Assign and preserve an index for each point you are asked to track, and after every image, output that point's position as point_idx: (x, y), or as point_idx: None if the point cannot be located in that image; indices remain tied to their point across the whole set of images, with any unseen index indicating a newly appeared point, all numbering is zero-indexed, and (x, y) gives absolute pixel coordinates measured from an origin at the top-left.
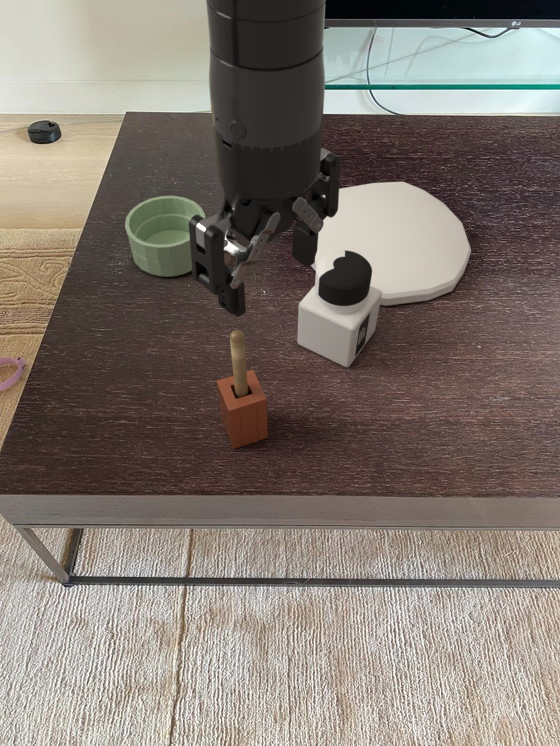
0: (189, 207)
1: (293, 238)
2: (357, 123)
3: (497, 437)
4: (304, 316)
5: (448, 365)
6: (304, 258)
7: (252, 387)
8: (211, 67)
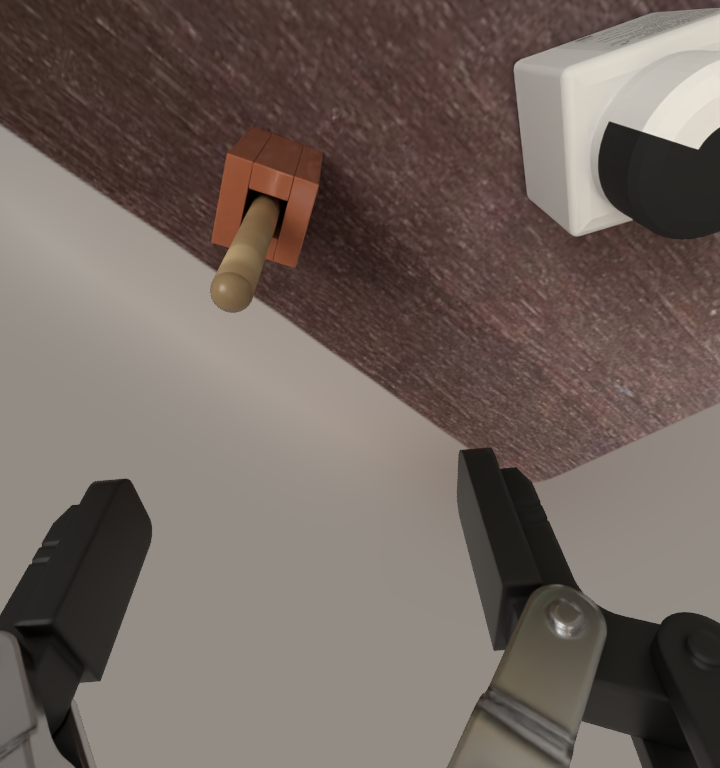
0: None
1: (483, 523)
2: None
3: (558, 421)
4: (550, 93)
5: (644, 307)
6: (464, 514)
7: (287, 226)
8: None
